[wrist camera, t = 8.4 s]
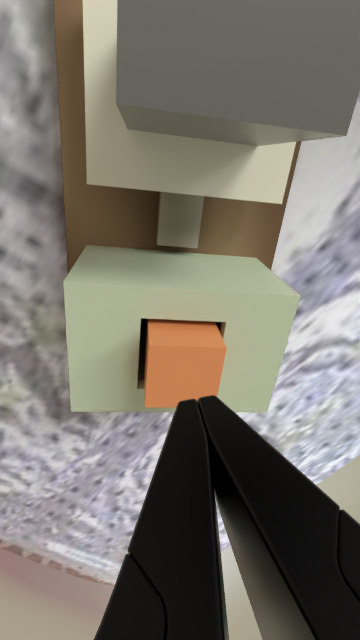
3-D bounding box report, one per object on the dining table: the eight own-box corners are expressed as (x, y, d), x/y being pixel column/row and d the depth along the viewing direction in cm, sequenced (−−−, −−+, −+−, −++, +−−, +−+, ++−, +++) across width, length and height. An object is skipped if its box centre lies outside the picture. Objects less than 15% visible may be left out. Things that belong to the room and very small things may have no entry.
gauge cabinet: (256, 257, 17) (300, 295, 13) (236, 350, 20) (266, 412, 15) (77, 244, 16) (49, 280, 11) (81, 345, 19) (60, 411, 14)
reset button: (206, 303, 15) (226, 347, 11) (198, 353, 16) (215, 407, 13) (147, 300, 15) (149, 345, 11) (143, 352, 16) (144, 407, 12)
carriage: (300, 10, 13) (535, -212, 5) (262, 197, 16) (374, 233, 8) (92, -31, 11) (-2, -397, 4) (95, 180, 15) (45, 202, 7)
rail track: (400, -365, 10) (473, -511, 8) (244, 339, 22) (256, 360, 19) (39, -508, 9) (3, -739, 6) (76, 333, 20) (68, 354, 18)
